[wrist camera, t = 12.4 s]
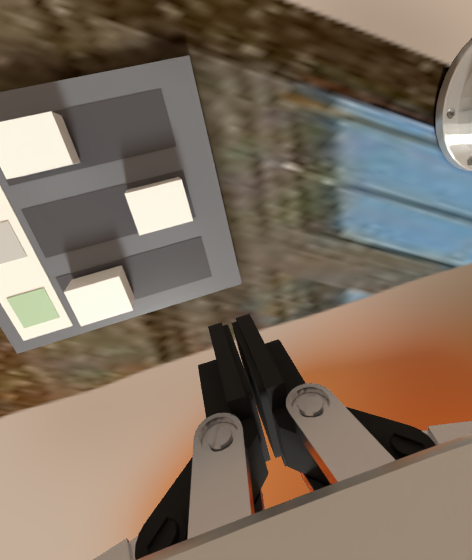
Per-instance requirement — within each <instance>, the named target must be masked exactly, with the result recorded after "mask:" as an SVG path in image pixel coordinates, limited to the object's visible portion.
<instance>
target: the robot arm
mask: <svg viewBox="0 0 472 560" xmlns="http://www.w3.org/2000/svg"><path fill="white" fill-rule="evenodd" d="M435 123H436V135H437V139H438V143H439V146H440V148H441V151H442V153H443V155H444V156H445V157H446V159H447V160H448V161H449V162H450V163H451V164H452V165H454V166H455V167H457V168H459V169H462V170H465V171H472V38H471V39H470V41H469V42H468V43H467V44H466V45H465V46H464V47H463V48H462V49H461V51H460V52H459V53H458V55H457V56H456V58H455V59H454V61H453V62H452V64H451V66H450V68H449V70H448V72H447V74H446V76H445V78H444V81H443V84H442V86H441V89H440V93H439V97H438V101H437V106H436V118H435ZM236 321H237V322H234V323H232V326H233V330H234V333H235V337H236V341H237V344H238V348H239V352H240V355H241V359H242V362H241V359H240V357H239V354H238V351H237V349H236V346H235V343H234V340H233V337H232V335H231V332H230V329H229V326H228V324H227V325H224V326H222V323H218V324H215V325H212V326H209V327H208V328H209V332H210V336H211V340H212V344H213V348H214V351H215V356H216V360H213V361H210V362H207V363H204V364H200V365H198V369H199V375H200V382H201V388H202V394H203V400H204V407H205V413H206V419H205V420H204V421H203V422H202V423H201V424H200V425H199V426H198V428H197V430H196V432H195V436H194V445H193V457H192V458H191V460H190V461H189V463H188V464H187V465H186V467H185V468H184V470H183V471H182V472H181V474H180V475H179V477H178V478H177V479H176V481H175V482H174V484H173V485H172V486H171V488H170V489H169V490H168V492H167V493H166V495H165V496H164V498H163V499H162V500H161V502H160V503H159V504H158V506H157V507H156V509H155V510H154V511H153V513H152V514H151V516H150V517H149V518H148V520H147V521H146V523H145V524H144V526H143V527H142V529H141V531H140V533H139V535H138V537H136V538H134V539H133V540H131V541H130V542H129V541H128V539H127V538H126V539H125V540H123V541H122V542H120V543H119V544H117V545H115V546H114V547H112V548H111V549H109V550H108V551H106V552H105V553H103V554H101V555H100V556H98V557H97V558H95V559H94V560H472V421H469V422H461V423H452V424H444V425H435V426H428V430H427V431H421V430H419V429H417V428H414V427H412V426H409V425H405V424H402V423H399V422H396V421H392V420H389V419H385V418H382V417H378V416H375V415H372V414H368V413H365V412H361V411H358V410H355V409H351V408H348V407H345V406H344V405H343V404H342V403H341V402H340V401H339V400H338V399H337V398H336V397H335V396H334V395H333V394H332V392H331V391H329V390H328V389H327V388H326V387H324V386H321V385H319V384H312V383H309V384H306V383H305V382H304V380H303V378H302V377H301V375H300V373H299V372H298V370H297V369H296V367H295V365H294V363H293V362H292V360H291V358H290V357H289V355H288V354H287V352H286V350H285V348H284V347H283V345H282V343H281V342H280V341H279V340H275V341H272V342H269V343H266V344H265V343H264V341H263V340H262V338H261V336H260V334H259V332H258V330H257V328H256V326H255V324H254V322H253V320H252V318H251V316H250V314H247V315H244V316H241V317H238V318H236ZM242 363H243V365H242ZM243 367H244V368H243ZM256 406H257V407H256ZM257 409H258V411H257ZM258 412H259V414H260V417H261V420H262V422H263V425H264V428H265V430H266V434H267V436H268V439H269V442H270V445H271V447H272V450H273V453H274V456H275V457H276V458H277V457H280V456H281V457H282V460H283V462H284V465H285V466H288V467H290V468H292V469H295V470H297V471H299V472H300V474H301V477H302V479H303V481H304V483H305V484H306V486H307V488H308V489H309V491H310V493H308V494H305V495H302V496H300V497H297V498H294V499H292V500H289V501H287V502H284V503H281V504H279V505H276V506H274V507H271V508H268V509H265V506H264V500H263V493H262V490H261V487H262V485H263V483H264V481H265V479H266V477H267V475H268V470H267V467H266V463H265V462H266V461H269V460H270V456H269V452H268V448H267V445H266V441H265V437H264V433H263V430H262V426H261V422H260V418H259V415H258Z"/></svg>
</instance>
